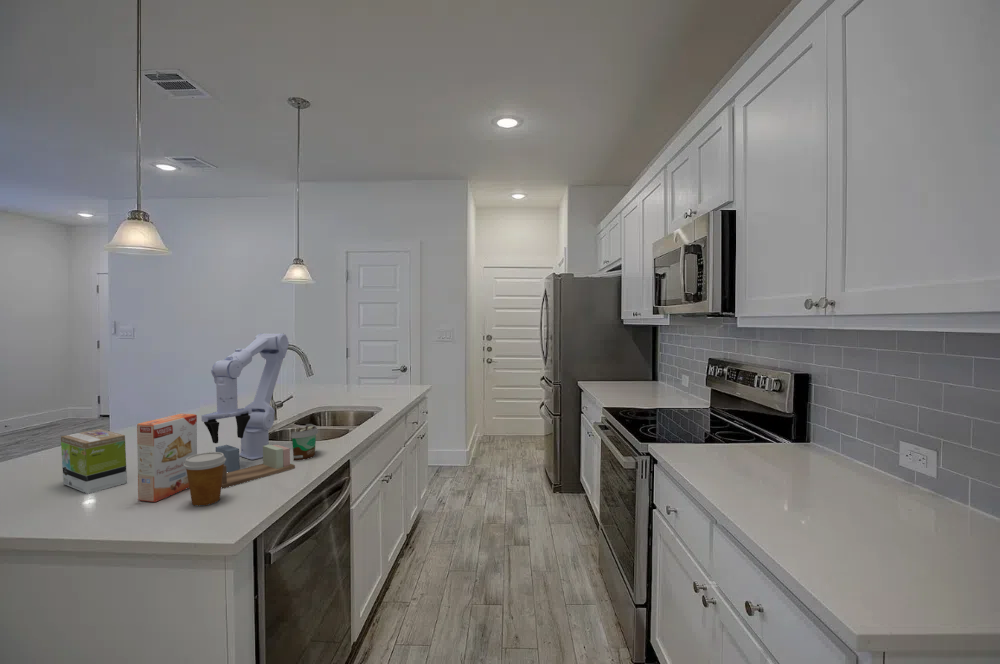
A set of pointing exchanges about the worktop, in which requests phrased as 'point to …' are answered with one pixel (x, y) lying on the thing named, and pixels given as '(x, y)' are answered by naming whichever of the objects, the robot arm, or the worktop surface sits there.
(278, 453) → the book row
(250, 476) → the shelf
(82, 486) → the tea box
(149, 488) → the cracker box
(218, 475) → the disposable coffee cup
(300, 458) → the food container
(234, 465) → the grey rectangular block
